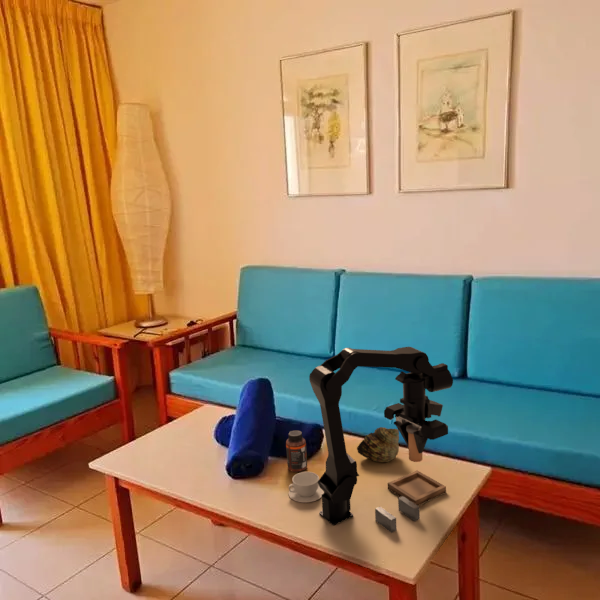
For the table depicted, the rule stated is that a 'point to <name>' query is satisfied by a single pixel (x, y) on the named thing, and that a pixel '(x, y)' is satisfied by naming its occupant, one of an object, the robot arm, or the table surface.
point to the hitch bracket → (390, 521)
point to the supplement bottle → (296, 452)
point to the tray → (417, 487)
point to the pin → (413, 444)
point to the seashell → (380, 445)
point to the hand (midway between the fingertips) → (415, 450)
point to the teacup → (305, 487)
